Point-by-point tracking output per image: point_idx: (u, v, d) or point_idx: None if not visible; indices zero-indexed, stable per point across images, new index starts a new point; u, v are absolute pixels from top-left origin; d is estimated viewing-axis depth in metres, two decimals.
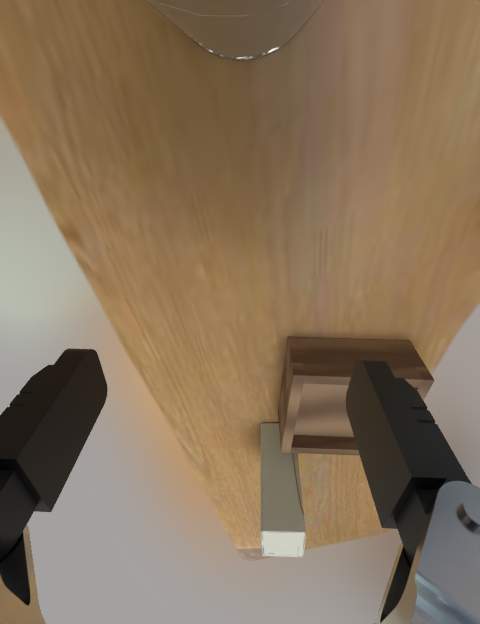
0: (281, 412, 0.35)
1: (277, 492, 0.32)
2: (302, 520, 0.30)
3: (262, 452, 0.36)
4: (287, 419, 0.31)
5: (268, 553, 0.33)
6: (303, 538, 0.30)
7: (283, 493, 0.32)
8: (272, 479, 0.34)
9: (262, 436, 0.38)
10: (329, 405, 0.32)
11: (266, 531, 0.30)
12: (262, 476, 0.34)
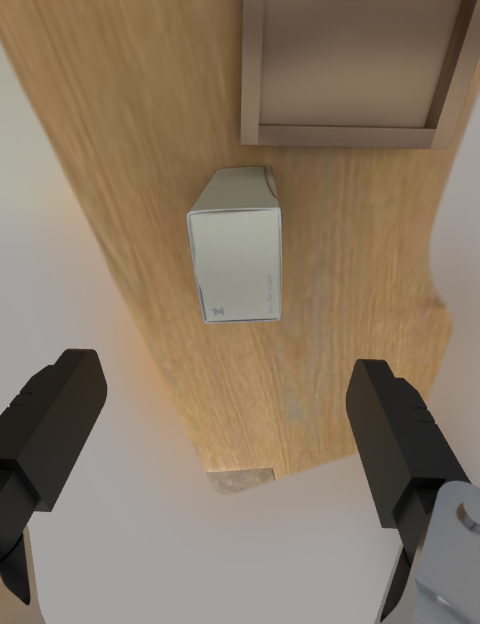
0: None
1: (229, 191, 0.17)
2: (275, 202, 0.14)
3: (212, 178, 0.21)
4: (245, 9, 0.15)
5: (213, 312, 0.17)
6: (278, 241, 0.15)
7: (242, 191, 0.17)
8: (223, 186, 0.18)
9: (216, 173, 0.22)
10: (330, 7, 0.16)
11: (197, 212, 0.14)
12: (206, 187, 0.18)
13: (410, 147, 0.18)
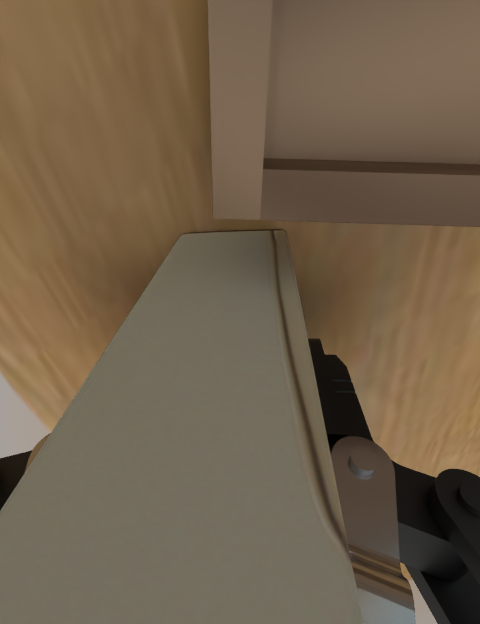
0: None
1: (163, 400, 0.05)
2: None
3: (154, 280, 0.09)
4: None
5: None
6: None
7: (204, 408, 0.05)
8: (158, 348, 0.06)
9: (172, 252, 0.11)
10: None
11: None
12: (114, 341, 0.07)
13: None
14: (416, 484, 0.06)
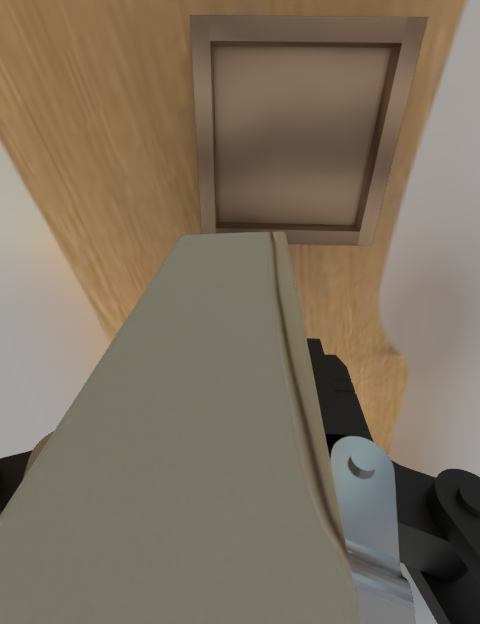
0: None
1: (163, 402, 0.05)
2: None
3: (153, 282, 0.09)
4: (198, 150, 0.19)
5: None
6: None
7: (204, 410, 0.05)
8: (158, 349, 0.06)
9: (171, 253, 0.11)
10: (269, 143, 0.20)
11: None
12: (114, 343, 0.07)
13: (340, 244, 0.22)
14: (416, 484, 0.06)
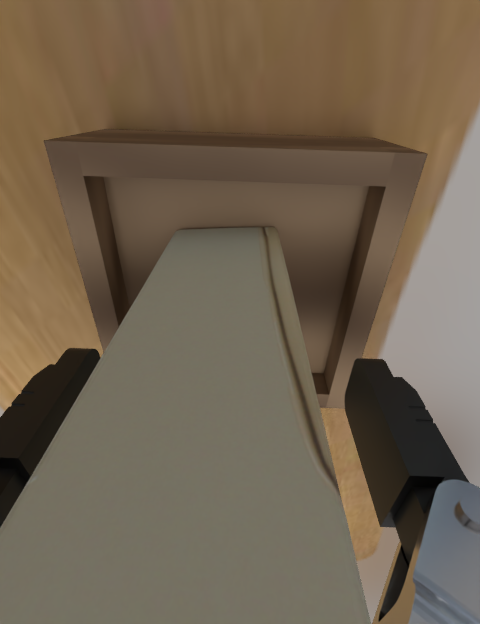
0: None
1: (173, 376, 0.06)
2: (338, 545, 0.03)
3: (154, 273, 0.09)
4: (93, 306, 0.13)
5: None
6: None
7: (211, 382, 0.05)
8: (164, 332, 0.07)
9: (169, 247, 0.11)
10: None
11: None
12: (122, 327, 0.07)
13: None
14: None
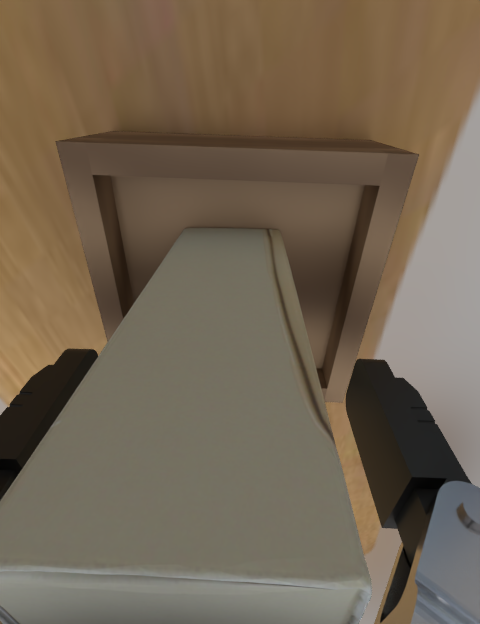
0: None
1: (184, 347, 0.06)
2: (333, 481, 0.04)
3: (164, 263, 0.10)
4: (99, 300, 0.14)
5: None
6: None
7: (219, 353, 0.06)
8: (175, 312, 0.07)
9: (177, 242, 0.12)
10: None
11: None
12: (135, 306, 0.08)
13: None
14: None
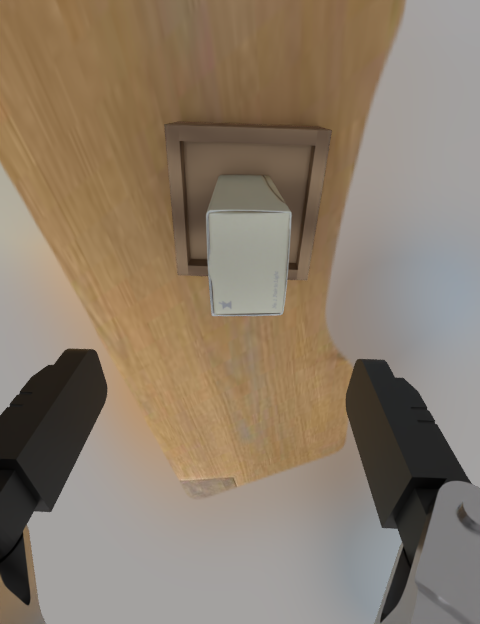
0: None
1: (240, 195, 0.18)
2: (285, 206, 0.16)
3: (218, 183, 0.22)
4: (173, 211, 0.26)
5: (221, 305, 0.18)
6: (287, 241, 0.16)
7: (251, 195, 0.18)
8: (232, 190, 0.19)
9: (219, 178, 0.24)
10: None
11: (216, 211, 0.15)
12: (215, 190, 0.20)
13: None
14: None
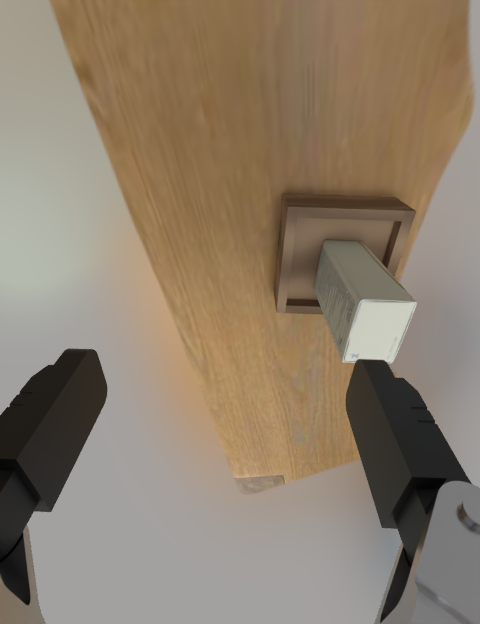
0: (277, 277, 0.37)
1: (367, 277, 0.26)
2: (408, 295, 0.23)
3: (335, 255, 0.29)
4: (282, 266, 0.33)
5: (351, 356, 0.25)
6: (408, 318, 0.24)
7: (376, 278, 0.25)
8: (356, 269, 0.27)
9: (330, 246, 0.31)
10: None
11: (366, 300, 0.23)
12: (343, 268, 0.27)
13: None
14: None
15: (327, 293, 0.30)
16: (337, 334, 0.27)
